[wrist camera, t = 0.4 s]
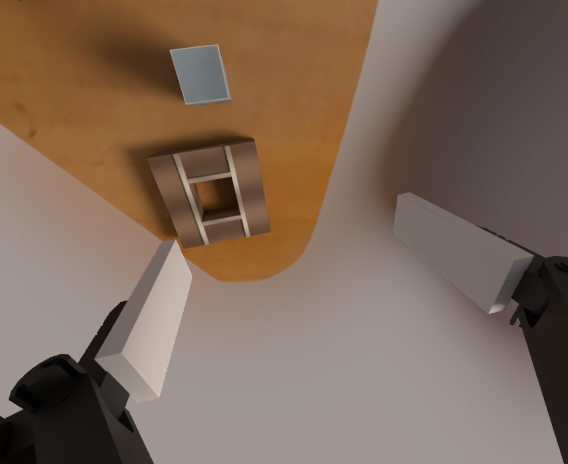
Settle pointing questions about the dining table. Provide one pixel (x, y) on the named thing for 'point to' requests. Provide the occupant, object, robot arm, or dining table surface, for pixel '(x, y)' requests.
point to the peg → (201, 75)
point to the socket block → (202, 167)
